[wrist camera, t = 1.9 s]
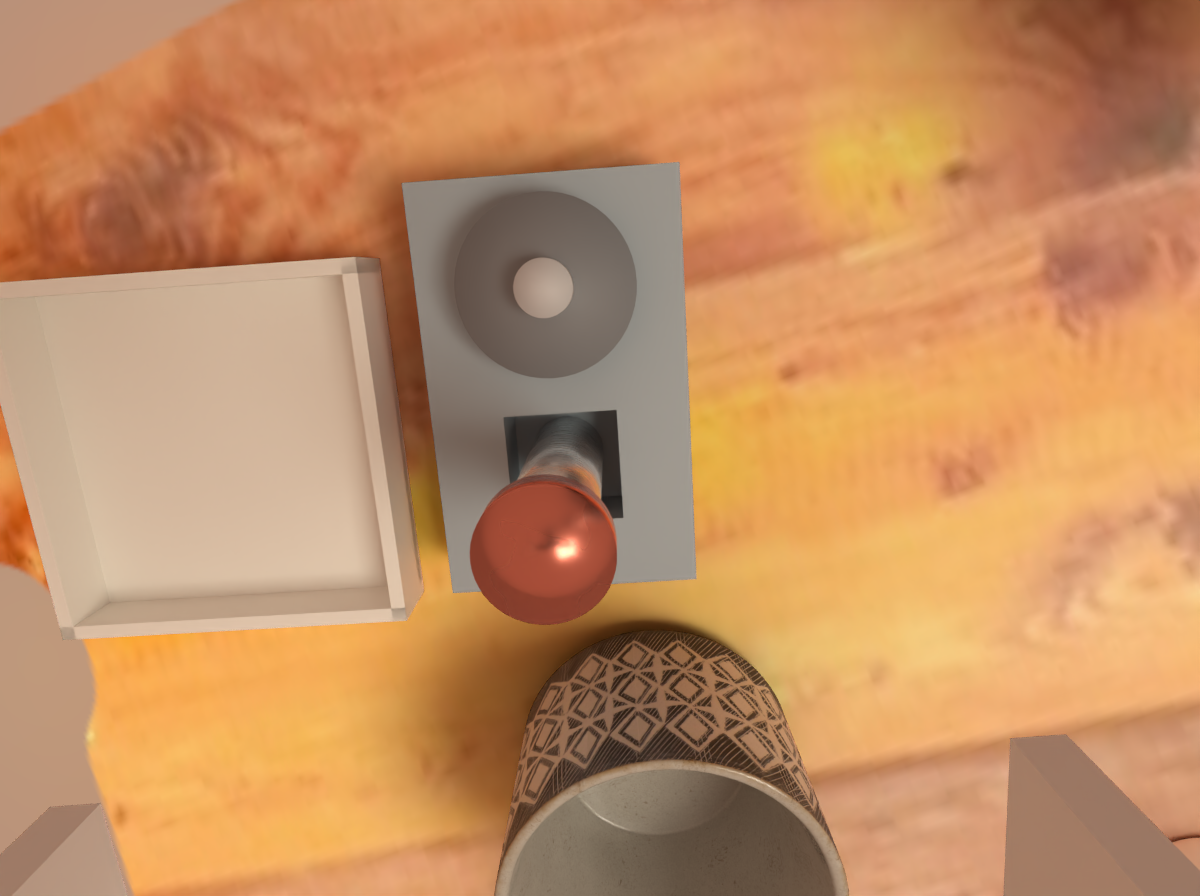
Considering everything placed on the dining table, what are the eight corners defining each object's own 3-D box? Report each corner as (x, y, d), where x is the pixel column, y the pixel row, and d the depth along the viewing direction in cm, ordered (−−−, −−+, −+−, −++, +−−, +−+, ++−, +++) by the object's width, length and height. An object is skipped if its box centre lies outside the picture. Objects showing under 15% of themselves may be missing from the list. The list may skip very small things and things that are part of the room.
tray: (28, 283, 31) (-31, 284, 28) (379, 258, 31) (355, 257, 28) (108, 609, 35) (62, 640, 32) (424, 591, 34) (406, 620, 31)
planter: (835, 711, 36) (924, 885, 26) (678, 884, 38) (702, 1105, 28) (627, 568, 34) (634, 693, 24) (477, 758, 37) (425, 944, 26)
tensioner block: (428, 194, 30) (379, 173, 24) (670, 176, 30) (687, 150, 23) (471, 556, 34) (438, 622, 28) (686, 543, 34) (704, 607, 27)
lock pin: (518, 407, 31) (461, 491, 19) (611, 401, 31) (612, 481, 19) (526, 497, 32) (477, 628, 20) (617, 491, 32) (621, 620, 20)
